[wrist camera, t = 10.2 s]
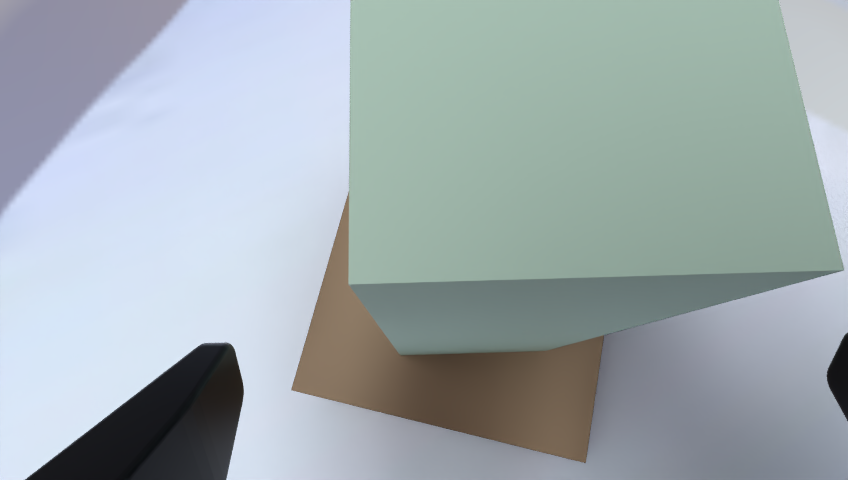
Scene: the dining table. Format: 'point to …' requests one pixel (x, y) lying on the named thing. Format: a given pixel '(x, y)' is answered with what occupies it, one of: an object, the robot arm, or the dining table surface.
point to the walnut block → (447, 375)
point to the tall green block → (573, 167)
